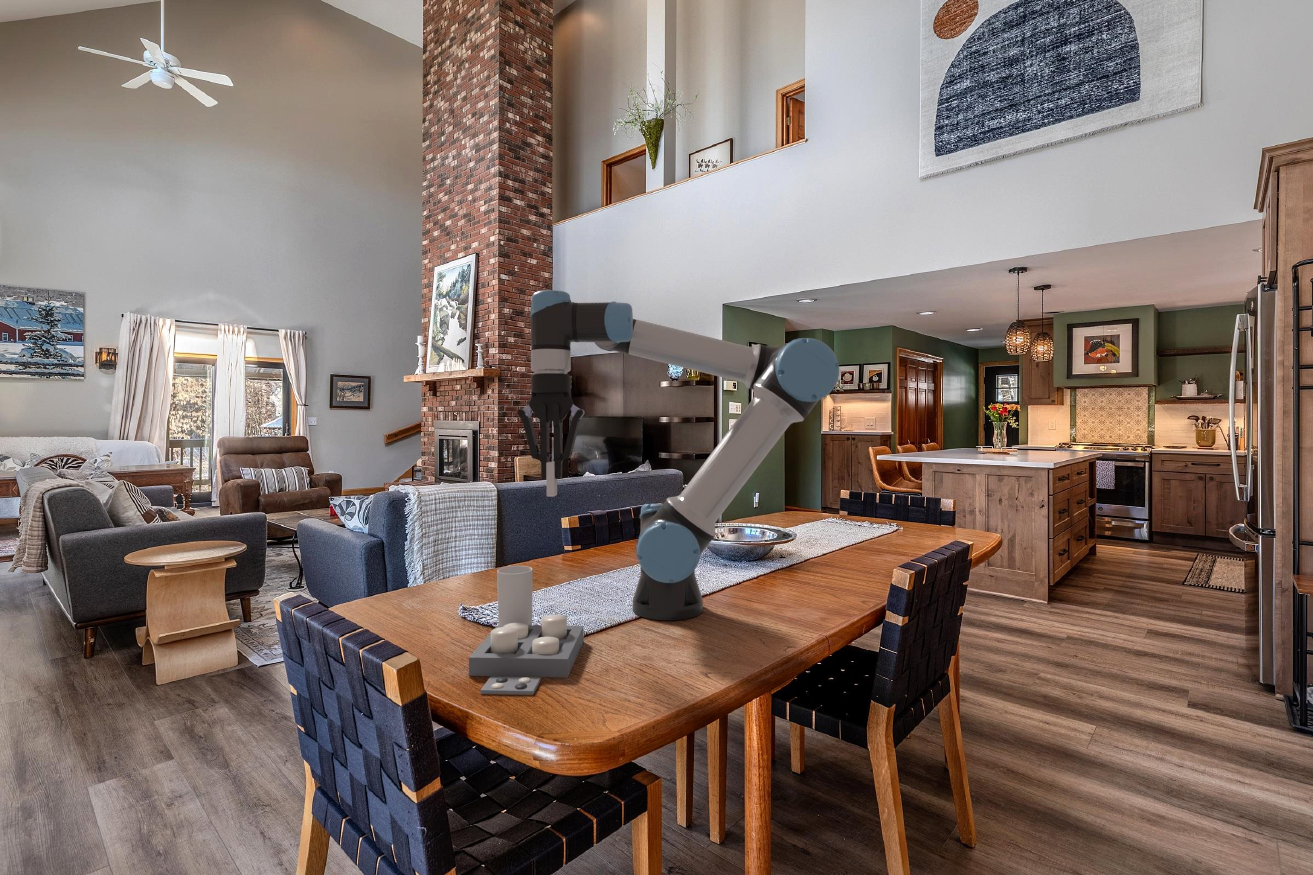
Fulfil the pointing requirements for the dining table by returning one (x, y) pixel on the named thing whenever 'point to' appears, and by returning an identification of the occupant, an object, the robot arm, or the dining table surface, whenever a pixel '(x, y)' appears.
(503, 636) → the button
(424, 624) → the dining table surface
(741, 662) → the dining table surface
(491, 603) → the dining table surface
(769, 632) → the dining table surface
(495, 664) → the board
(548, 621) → the button
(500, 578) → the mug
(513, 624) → the button
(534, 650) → the button
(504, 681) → the card
